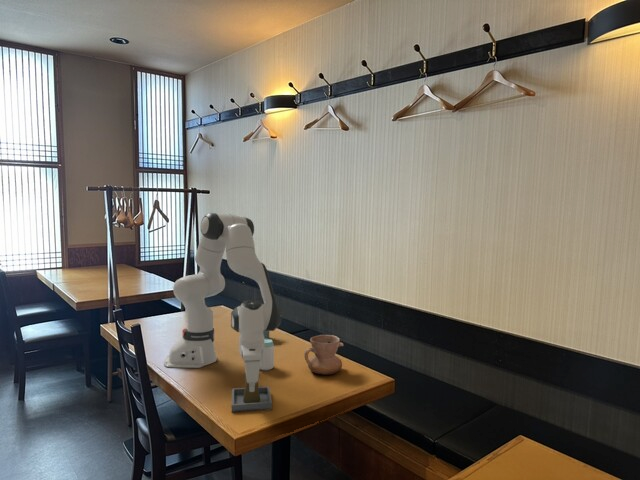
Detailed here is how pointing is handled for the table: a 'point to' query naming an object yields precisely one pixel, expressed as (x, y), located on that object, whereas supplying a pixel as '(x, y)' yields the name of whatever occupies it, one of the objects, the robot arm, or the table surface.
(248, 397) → the olive tapered rounded piece
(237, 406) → the tray
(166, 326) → the table surface
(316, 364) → the ceramic jug
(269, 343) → the can
